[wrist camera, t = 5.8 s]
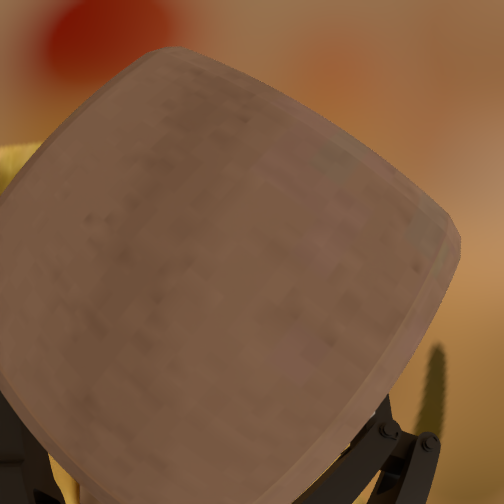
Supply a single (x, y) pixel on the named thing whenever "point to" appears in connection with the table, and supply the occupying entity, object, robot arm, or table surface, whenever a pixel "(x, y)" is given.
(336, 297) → the wooden block
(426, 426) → the table surface
